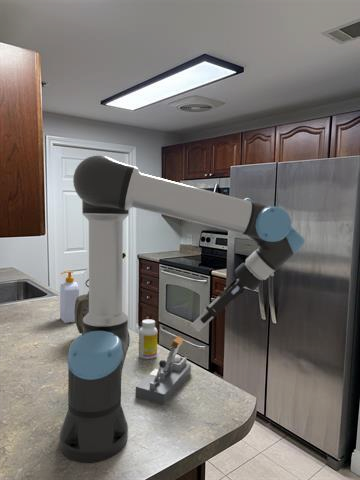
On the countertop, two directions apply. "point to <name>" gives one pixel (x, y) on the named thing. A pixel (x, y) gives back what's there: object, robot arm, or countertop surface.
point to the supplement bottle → (148, 339)
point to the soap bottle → (68, 298)
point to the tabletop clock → (81, 310)
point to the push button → (177, 359)
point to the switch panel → (163, 382)
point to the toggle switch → (162, 364)
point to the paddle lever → (172, 354)
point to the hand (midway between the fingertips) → (201, 320)
